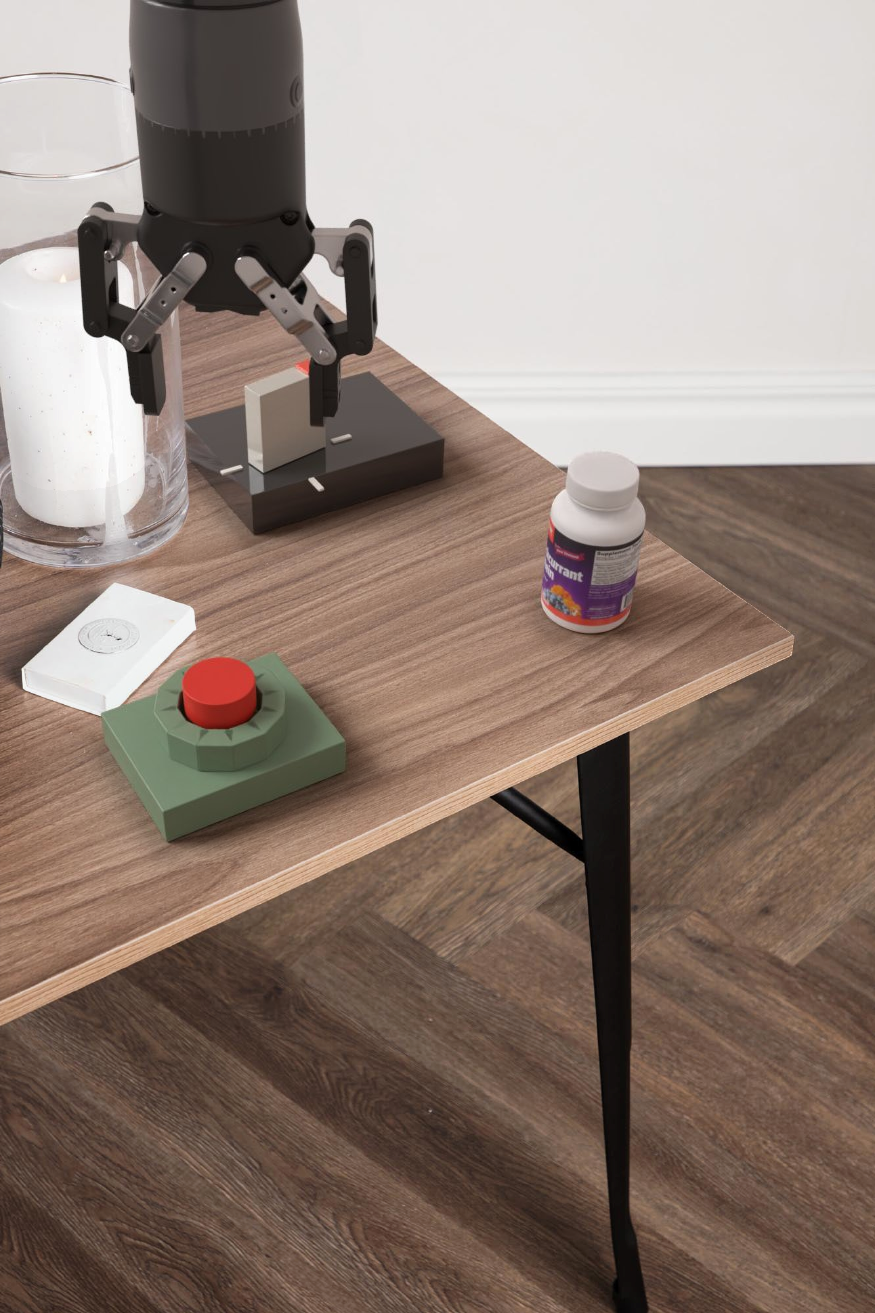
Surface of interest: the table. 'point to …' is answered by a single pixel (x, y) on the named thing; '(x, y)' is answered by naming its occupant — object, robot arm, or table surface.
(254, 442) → the beige rectangular block
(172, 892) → the table surface
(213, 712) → the red button cap
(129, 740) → the button housing
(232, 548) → the table surface
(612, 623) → the pill bottle
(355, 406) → the panel
